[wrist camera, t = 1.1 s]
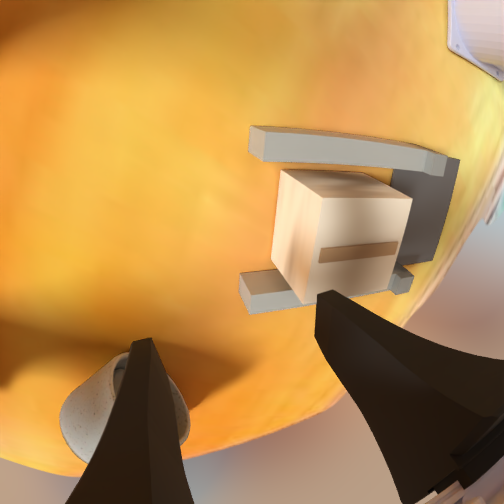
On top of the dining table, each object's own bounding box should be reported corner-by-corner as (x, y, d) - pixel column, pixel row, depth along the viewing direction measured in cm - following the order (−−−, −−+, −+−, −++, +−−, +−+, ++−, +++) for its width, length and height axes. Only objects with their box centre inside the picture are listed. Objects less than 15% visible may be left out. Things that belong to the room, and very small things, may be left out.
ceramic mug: (56, 383, 21) (51, 463, 15) (110, 332, 20) (112, 426, 14) (148, 425, 27) (161, 493, 21) (207, 388, 26) (231, 462, 20)
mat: (458, 159, 23) (460, 160, 22) (431, 259, 27) (432, 260, 27) (397, 147, 20) (399, 148, 20) (369, 268, 25) (371, 270, 25)
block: (362, 172, 20) (414, 199, 16) (346, 251, 23) (388, 290, 19) (280, 169, 18) (324, 198, 14) (270, 259, 21) (304, 306, 17)
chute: (416, 144, 21) (447, 155, 18) (385, 271, 26) (408, 291, 23) (250, 125, 17) (270, 133, 14) (238, 291, 22) (252, 321, 19)
